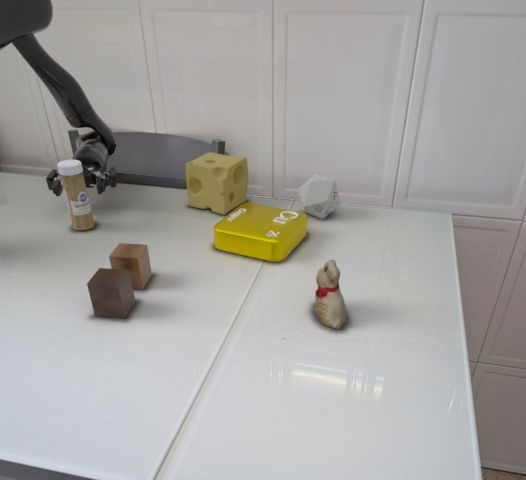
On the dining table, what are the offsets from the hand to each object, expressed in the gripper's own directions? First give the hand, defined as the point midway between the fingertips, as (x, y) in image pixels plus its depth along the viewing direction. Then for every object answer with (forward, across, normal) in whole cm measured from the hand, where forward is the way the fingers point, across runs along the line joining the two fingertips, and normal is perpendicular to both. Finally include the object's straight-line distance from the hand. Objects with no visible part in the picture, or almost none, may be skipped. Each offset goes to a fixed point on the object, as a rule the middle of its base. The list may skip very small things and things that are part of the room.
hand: (77, 190), depth 103 cm
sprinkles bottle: (+2, 0, +7) cm, 8 cm away
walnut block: (+35, +10, +7) cm, 37 cm away
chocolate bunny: (+41, +44, +7) cm, 61 cm away
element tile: (+14, +37, +7) cm, 40 cm away
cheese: (-7, +29, +7) cm, 31 cm away
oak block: (+27, +12, +7) cm, 30 cm away
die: (+2, +51, +7) cm, 51 cm away
